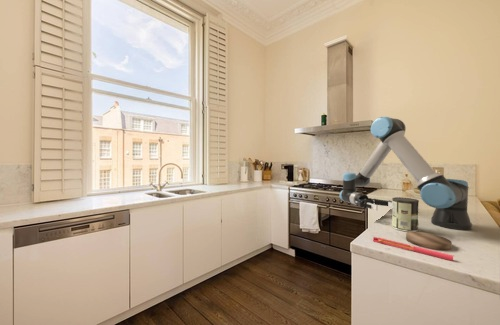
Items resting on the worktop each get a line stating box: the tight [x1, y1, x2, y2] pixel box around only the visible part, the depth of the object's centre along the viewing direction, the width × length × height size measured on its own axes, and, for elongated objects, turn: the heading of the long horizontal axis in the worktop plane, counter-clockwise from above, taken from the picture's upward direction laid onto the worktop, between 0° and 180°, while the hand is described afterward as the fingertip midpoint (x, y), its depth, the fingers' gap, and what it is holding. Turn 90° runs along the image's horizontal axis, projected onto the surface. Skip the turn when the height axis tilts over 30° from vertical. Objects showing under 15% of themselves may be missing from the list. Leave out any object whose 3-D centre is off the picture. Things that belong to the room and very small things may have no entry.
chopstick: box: [372, 236, 455, 262], centre depth 81 cm, size 24×2×5 cm
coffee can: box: [391, 196, 420, 233], centre depth 104 cm, size 10×10×14 cm
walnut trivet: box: [405, 231, 453, 251], centre depth 87 cm, size 14×14×2 cm
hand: (388, 207), depth 114 cm, fingers open, 13 cm apart
